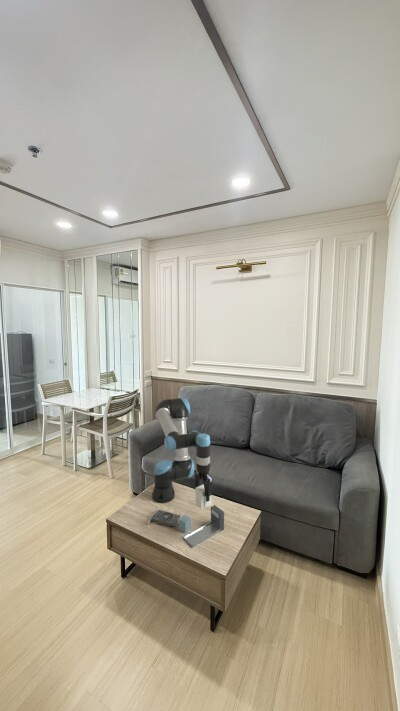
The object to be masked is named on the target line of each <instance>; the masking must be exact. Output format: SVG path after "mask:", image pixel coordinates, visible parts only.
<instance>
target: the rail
mask: <svg viewBox="0 0 400 711" xmlns="http://www.w3.org/2000/svg"><path fill="white" fill-rule="evenodd" d="M224 530H225V512H224V510H222V509H221V508H219V507H218V506H217V505H215V504H214V505H212V506H210V521H209V522H207V523H206V524H204V525H202V526H200V527H198V528H196V529H194V530H192V531H191V532H189V533H186V534H184V535H183V540H185V542H186V543H187V544H189V546H190V547H191V548H192V549H193V548H195V547H196V546H198V545H199V544H201V543H203V542H205V541H206V540H208V539H210V538H211V537H213V536H215V535H217V534H218V533H221V531H224Z"/></svg>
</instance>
